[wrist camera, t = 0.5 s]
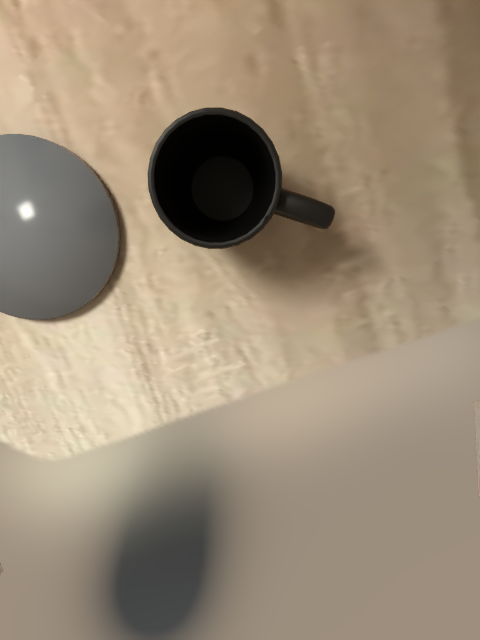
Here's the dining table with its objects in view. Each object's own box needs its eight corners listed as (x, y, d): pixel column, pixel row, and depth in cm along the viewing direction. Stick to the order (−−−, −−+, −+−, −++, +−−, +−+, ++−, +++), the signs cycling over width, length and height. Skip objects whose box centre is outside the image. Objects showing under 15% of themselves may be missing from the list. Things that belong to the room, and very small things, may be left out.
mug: (294, 267, 36) (311, 286, 27) (161, 220, 35) (131, 224, 26) (330, 172, 34) (362, 157, 25) (189, 120, 33) (168, 85, 24)
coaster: (-90, 172, 34) (-100, 171, 33) (76, 108, 33) (71, 105, 32) (-7, 337, 38) (-14, 341, 37) (146, 286, 36) (143, 288, 36)
